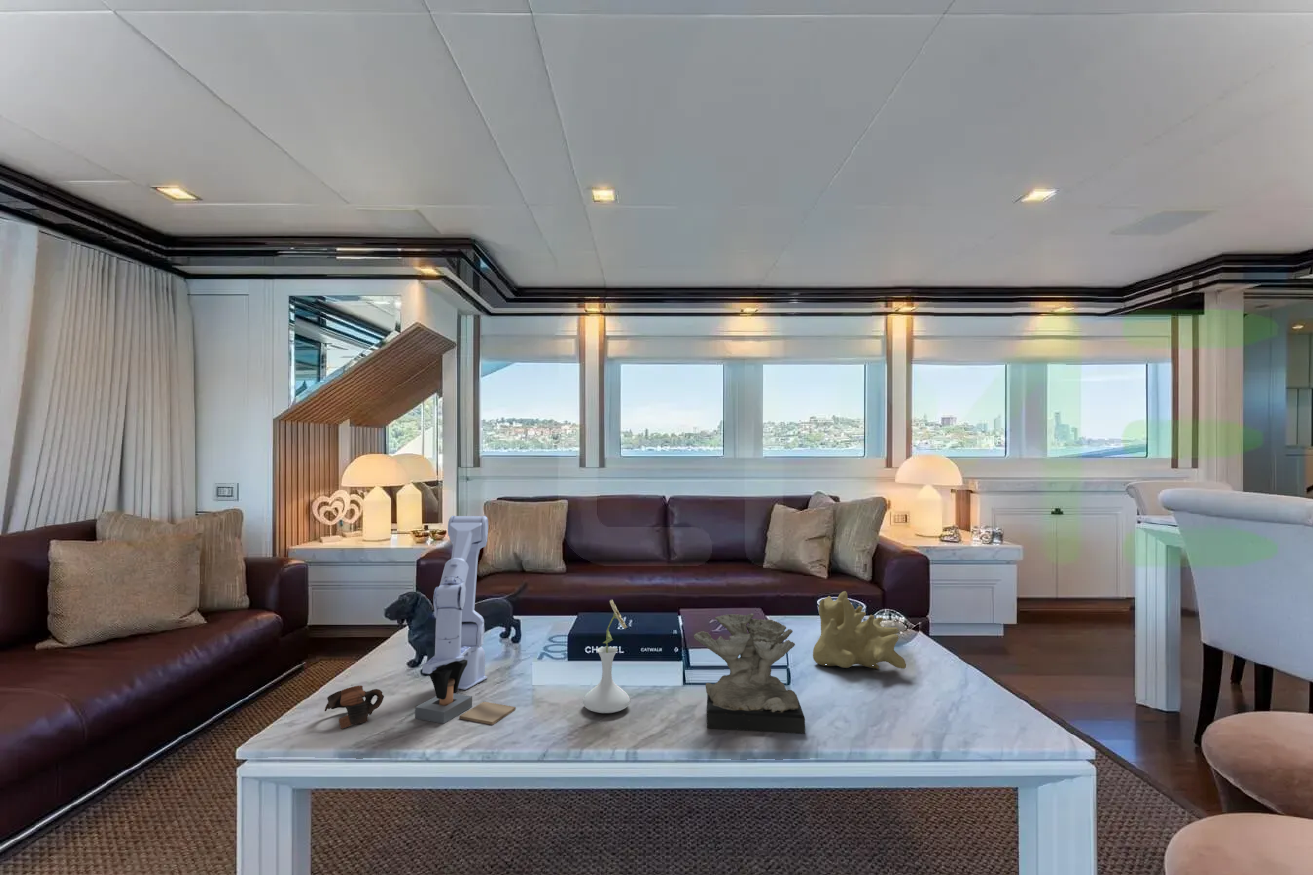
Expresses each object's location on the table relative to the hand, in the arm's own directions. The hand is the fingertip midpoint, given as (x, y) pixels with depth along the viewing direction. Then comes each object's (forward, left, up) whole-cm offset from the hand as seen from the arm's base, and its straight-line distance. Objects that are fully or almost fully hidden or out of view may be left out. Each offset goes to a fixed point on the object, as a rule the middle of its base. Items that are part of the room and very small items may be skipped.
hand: (446, 695), depth 138 cm
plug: (0, 0, -4) cm, 4 cm away
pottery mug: (+10, -17, -4) cm, 20 cm away
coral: (-26, +65, -4) cm, 71 cm away
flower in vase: (-17, +33, -4) cm, 38 cm away
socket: (0, -1, -4) cm, 4 cm away
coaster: (-3, +9, -4) cm, 11 cm away
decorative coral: (-70, +89, -4) cm, 114 cm away
